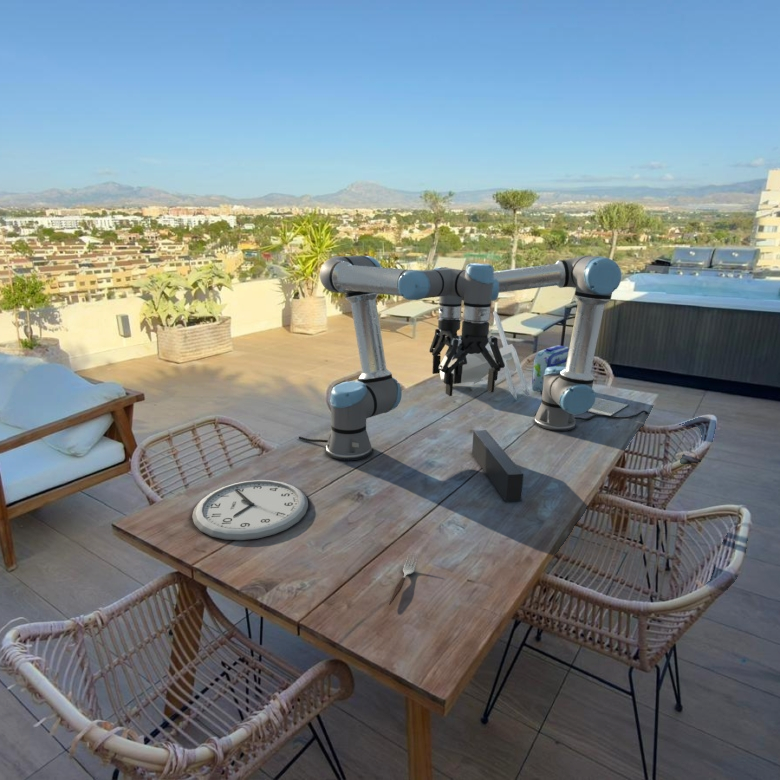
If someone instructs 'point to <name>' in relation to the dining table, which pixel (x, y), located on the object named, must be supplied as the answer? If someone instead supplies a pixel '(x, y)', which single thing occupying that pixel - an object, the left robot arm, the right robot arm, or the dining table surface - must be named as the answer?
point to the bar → (497, 466)
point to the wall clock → (250, 510)
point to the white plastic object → (480, 367)
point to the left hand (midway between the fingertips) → (469, 392)
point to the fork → (407, 571)
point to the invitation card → (606, 407)
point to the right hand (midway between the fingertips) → (446, 378)
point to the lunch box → (547, 364)
